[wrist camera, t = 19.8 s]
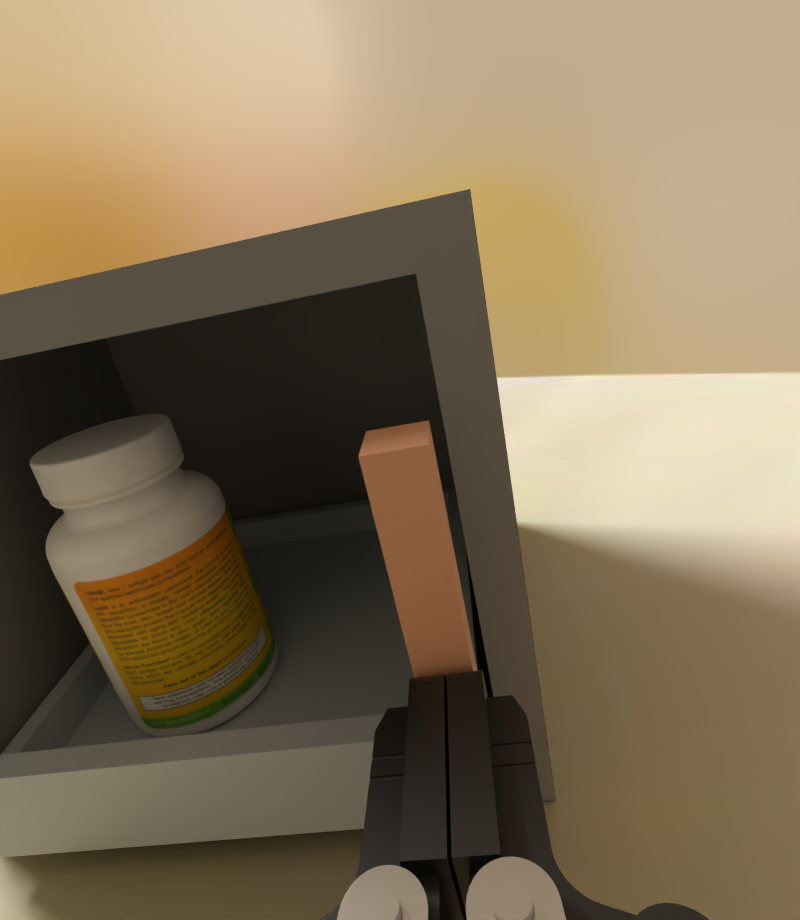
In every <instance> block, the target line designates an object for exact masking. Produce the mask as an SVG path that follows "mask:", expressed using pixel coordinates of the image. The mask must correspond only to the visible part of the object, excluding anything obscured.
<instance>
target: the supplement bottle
mask: <svg viewBox="0 0 800 920" xmlns="http://www.w3.org/2000/svg"><path fill="white" fill-rule="evenodd" d="M183 460H184V454H183V452H182V448H181V445H180V442H179V440H178V437H177V435H176V433H175V430H174V428H173V425H172V423H171V421H170V419H169V417H167V416H166V415H163V414H146V415H139V416H132V417H127V418H123V419H118V420H114V421H110V422H107V423H103V424H100V425H97V426H94V427H91V428H88V429H85V430H82V431H79V432H77V433H74V434H71V435H69V436H67V437H65V438H62V439H60V440H58V441H56V442H54V443H52V444H50V445H48V446H46V447H45V448H43V449H41V450H40V451H38V452H37V453H35V454H34V455H33V456H32V457H31V459H30V467H31V469H32V471H33V473H34V475H35V478H36V480H37V482H38V484H39V486H40V488H41V491H42V494H43V496H44V497H45V498H46V499H48V500H49V503H50V504H51V505H52V506H53V507H55V508H58V509H63V511H64V514H63V515H62V516H61V517H60V518H59V519H58V520H57V521H56V522H55V524H54V525H53V527H52V528H51V530H50V532H49V534H48V536H47V540H46V546H45V550H46V556H47V559H48V562H49V564H50V566H51V569H52V571H53V573H54V575H55V577H56V579H57V581H58V583H59V585H60V587H61V588H62V590H63V592H64V594H65V596H66V598H67V600H68V602H69V603H70V605H71V607H72V609H73V611H74V613H75V615H76V617H77V619H78V621H79V623H80V624H81V626H82V628H83V630H84V632H85V634H86V636H87V638H88V640H89V642H90V644H91V645H92V647H93V649H94V651H95V653H96V655H97V657H98V659H99V661H100V663H101V665H102V667H103V669H104V670H105V672H106V674H107V676H108V678H109V680H110V682H111V684H112V686H113V687H114V689H115V691H116V693H117V695H118V697H119V699H120V701H121V703H122V704H123V706H124V708H125V710H126V712H127V713H128V715H129V716H130V718H131V719H132V721H133V723H134V724H135V725H136V726H137V727H138V728H139V729H140V730H142V731H143V732H145V733H147V734H150V735H153V736H157V737H172V736H182V735H191V734H197V733H200V732H203V731H206V730H209V729H211V728H213V727H216V726H218V725H220V724H222V723H224V722H226V721H227V720H229V719H231V718H232V717H234V716H235V715H237V714H238V713H239V712H241V711H242V710H243V709H244V708H245V707H247V706H248V705H249V704H250V703H251V702H252V701H253V700H254V699H255V698H256V697H257V696H258V695H259V694H260V693H261V691H262V690H263V689H264V688H265V686H266V685H267V683H268V682H269V680H270V678H271V676H272V674H273V672H274V670H275V667H276V664H277V659H278V646H277V642H276V639H275V636H274V632H273V629H272V627H271V624H270V621H269V619H268V617H267V614H266V611H265V608H264V606H263V603H262V600H261V598H260V595H259V592H258V590H257V587H256V584H255V582H254V579H253V577H252V574H251V571H250V568H249V566H248V563H247V560H246V558H245V555H244V552H243V550H242V547H241V544H240V541H239V538H238V536H237V533H236V530H235V527H234V524H233V522H232V519H231V516H230V513H229V510H228V508H227V505H226V502H225V500H224V497H223V495H222V493H221V490H220V488H219V487H218V485H217V484H216V483H215V482H214V481H213V480H212V479H211V478H210V477H208V476H206V475H204V474H202V473H200V472H197V471H192V470H182V469H181V467H180V465H181V463H182V462H183Z"/></svg>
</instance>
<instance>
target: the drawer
mask: <svg viewBox="0 0 800 920" xmlns="http://www.w3.org/2000/svg"><path fill="white" fill-rule="evenodd" d="M358 457H359V461H360V465H361V469H362V473H363V477H364V481H365V485H366V489H367V493H368V497H369V499H365V500H359V501H353V502H346V503H340V504H334V505H327V506H321V507H314V508H308V509H302V510H295V511H289V512H283V513H276V514H270V515H264V516H257V517H251V518H245V519H238V520H232V522H233V524H234V527H235V530H236V533H237V536H238V538H239V541H240V544H241V547H242V550H243V552H244V555H245V558H246V560H247V563H248V566H249V568H250V571H251V574H252V577H253V579H254V582H255V584H256V587H257V590H258V592H259V595H260V598H261V600H262V603H263V606H264V608H265V611H266V614H267V617H268V619H269V621H270V624H271V627H272V629H273V632H274V636H275V639H276V642H277V646H278V659H277V664H276V667H275V670H274V672H273V674H272V676H271V678H270V680H269V682H268V683H267V685H266V686H265V688H264V689H263V690H262V691H261V693H260V694H259V695H258V696H257V697H256V698H255V699H254V700H253V701H252V702H251V703H250V704H249V705H248V706H247V707H245V708H244V709H243V710H242V711H241V712H239V713H238V714H237V715H235V716H234V717H232V718H231V719H229V720H227V721H226V722H224V723H222V724H220V725H218V726H216V727H213V728H211V729H209V730H206V731H203V732H200V733H197V734H191V735H182V736H172V737H157V736H153V735H150V734H147V733H145V732H143V731H142V730H140V729H139V728H138V727H137V726H136V725H135V724H134V723H133V721H132V719H131V718H130V716H129V715H128V713H127V712H126V710H125V708H124V706H123V704H122V703H121V701H120V699H119V697H118V695H117V693H116V691H115V689H114V687H113V686H112V684H111V682H110V680H109V678H108V676H107V674H106V672H105V670H104V669H103V667H102V665H101V663H100V661H99V659H98V657H97V655H96V653H95V651H94V649H93V647H92V645H91V644H90V643H89V645H88V646H87V647H86V648H85V650H84V651H83V652H82V653H81V655H80V656H79V657H78V658H77V660H76V661H75V662H74V663H73V665H72V666H71V667H70V668H69V670H68V671H67V672H66V673H65V675H64V676H63V677H62V678H61V680H60V681H59V682H58V683H57V685H56V686H55V687H54V688H53V690H52V691H51V692H50V693H49V695H48V696H47V697H46V699H45V700H44V701H43V702H42V704H41V705H40V706H39V707H38V709H37V710H36V711H35V712H34V714H33V715H32V716H31V717H30V719H29V720H28V721H27V722H26V724H25V725H24V726H23V727H22V729H21V730H20V731H19V732H18V734H17V735H16V736H15V737H14V739H13V740H12V741H11V742H10V744H9V745H8V746H7V747H6V749H5V750H4V751H3V752H2V754H1V755H0V858H1V857H14V856H26V855H39V854H51V853H64V852H77V851H89V850H102V849H114V848H127V847H140V846H152V845H165V844H177V843H190V842H203V841H215V840H228V839H240V838H253V837H265V836H278V835H291V834H303V833H316V832H328V831H341V830H354V829H364V822H365V813H366V805H367V796H368V788H369V782H370V770H371V762H372V760H373V759H372V753H373V744H374V736H375V730H376V728H377V727H378V725H379V723H380V721H381V719H382V717H383V716H384V714H385V712H386V710H387V708H396V707H406V706H408V693H409V681H410V679H411V678H418V677H427V676H436V675H446V678H447V674H452V673H461V672H470V671H479V670H482V664H481V654H480V645H479V635H478V626H477V617H476V607H475V598H474V588H473V582H472V577H471V572H470V566H469V561H468V555H467V550H466V544H465V539H464V533H463V528H462V523H461V517H460V512H459V506H458V501H457V495H456V490H455V485H454V486H448V487H442V485H441V480H440V475H439V470H438V465H437V460H436V454H435V449H434V444H433V439H432V434H431V429H430V423H429V420H428V421H423V422H417V423H411V424H405V425H399V426H394V427H388V428H382V429H376V430H371V431H366V433H365V437H364V440H363V443H362V446H361V450H360V453H359V456H358Z"/></svg>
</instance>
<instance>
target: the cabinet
mask: <svg viewBox="0 0 800 920" xmlns="http://www.w3.org/2000/svg"><path fill="white" fill-rule="evenodd" d="M146 414H163V415H166V416H167V417H169V419H170V421H171V423H172V425H173V428H174V430H175V433H176V435H177V437H178V440H179V442H180V445H181V448H182V452H183V454H184V460H183V462H182V463H181V465H180V467H181V469H182V470H192V471H197V472H200V473H202V474H204V475H206V476H208V477H210V478H211V479H212V480H213V481H214V482H215V483H216V484H217V485H218V487H219V488H220V490H221V493H222V495H223V497H224V500H225V502H226V505H227V508H228V510H229V513H230V516H231V519H232V520H238V519H245V518H251V517H257V516H264V515H270V514H276V513H283V512H289V511H295V510H302V509H308V508H314V507H321V506H327V505H334V504H340V503H346V502H353V501H359V500H365V499H369V497H368V493H367V489H366V485H365V481H364V477H363V473H362V469H361V465H360V461H359V457H358V456H359V453H360V450H361V446H362V443H363V440H364V437H365V433H366V431H371V430H376V429H382V428H388V427H394V426H399V425H405V424H411V423H417V422H423V421H428V420H429V423H430V429H431V434H432V439H433V444H434V449H435V454H436V460H437V465H438V470H439V475H440V480H441V485H442V487H448V486H454V485H455V490H456V495H457V501H458V506H459V512H460V517H461V523H462V528H463V533H464V539H465V544H466V550H467V555H468V561H469V566H470V572H471V577H472V582H473V588H474V598H475V607H476V617H477V626H478V635H479V645H480V654H481V664H482V671H483V675H484V680H485V685H486V690H487V696H488V698H489V697H498V696H508V695H513V697H514V698H515V700H516V701H517V702H518V704H519V705H520V707H521V708H522V709H523V711H524V712H525V714H526V715H527V719H528V724H529V730H530V735H531V741H532V746H533V752H534V757H535V763H536V768H537V774H538V779H539V784H540V790H541V795H542V801H550V800H555V793H554V786H553V779H552V772H551V765H550V757H549V750H548V743H547V736H546V729H545V722H544V714H543V707H542V700H541V693H540V686H539V679H538V672H537V664H536V657H535V650H534V643H533V636H532V629H531V621H530V614H529V607H528V600H527V593H526V586H525V579H524V571H523V564H522V557H521V550H520V543H519V536H518V528H517V521H516V514H515V507H514V500H513V493H512V486H511V478H510V471H509V464H508V457H507V450H506V443H505V435H504V428H503V421H502V414H501V407H500V400H499V393H498V385H497V378H496V372H495V365H494V357H493V350H492V343H491V335H490V329H489V321H488V314H487V307H486V300H485V293H484V285H483V278H482V271H481V264H480V257H479V250H478V243H477V236H476V228H475V221H474V214H473V207H472V199H471V192H470V189H469V190H464V191H460V192H455V193H451V194H446V195H442V196H438V197H434V198H429V199H425V200H420V201H415V202H411V203H406V204H402V205H398V206H393V207H389V208H384V209H380V210H375V211H371V212H366V213H362V214H358V215H353V216H349V217H344V218H340V219H336V220H331V221H327V222H322V223H318V224H313V225H309V226H304V227H300V228H295V229H291V230H286V231H282V232H278V233H273V234H269V235H265V236H260V237H256V238H251V239H246V240H242V241H238V242H233V243H229V244H224V245H220V246H215V247H211V248H207V249H202V250H198V251H193V252H189V253H184V254H180V255H176V256H171V257H167V258H162V259H158V260H153V261H149V262H144V263H140V264H135V265H131V266H127V267H122V268H118V269H113V270H109V271H104V272H100V273H95V274H91V275H87V276H82V277H78V278H73V279H69V280H64V281H60V282H55V283H51V284H47V285H42V286H38V287H33V288H29V289H24V290H20V291H16V292H11V293H7V294H2V295H0V755H1V754H2V752H3V751H4V750H5V749H6V747H7V746H8V745H9V744H10V742H11V741H12V740H13V739H14V737H15V736H16V735H17V734H18V732H19V731H20V730H21V729H22V727H23V726H24V725H25V724H26V722H27V721H28V720H29V719H30V717H31V716H32V715H33V714H34V712H35V711H36V710H37V709H38V707H39V706H40V705H41V704H42V702H43V701H44V700H45V699H46V697H47V696H48V695H49V693H50V692H51V691H52V690H53V688H54V687H55V686H56V685H57V683H58V682H59V681H60V680H61V678H62V677H63V676H64V675H65V673H66V672H67V671H68V670H69V668H70V667H71V666H72V665H73V663H74V662H75V661H76V660H77V658H78V657H79V656H80V655H81V653H82V652H83V651H84V650H85V648H86V647H87V646H88V645H89V643H90V642H89V640H88V638H87V636H86V634H85V632H84V630H83V628H82V626H81V624H80V623H79V621H78V619H77V617H76V615H75V613H74V611H73V609H72V607H71V605H70V603H69V602H68V600H67V598H66V596H65V594H64V592H63V590H62V588H61V587H60V585H59V583H58V581H57V579H56V577H55V575H54V573H53V571H52V569H51V566H50V564H49V562H48V559H47V556H46V550H45V546H46V540H47V536H48V534H49V532H50V530H51V528H52V527H53V525H54V524H55V522H56V521H57V520H58V519H59V518H60V517H61V516H62V515H63V514H64V511H63V509H58V508H55V507H53V506H52V505H51V504H50V503H49V500H48V499H46V498H45V497H44V496H43V494H42V491H41V488H40V486H39V484H38V482H37V480H36V478H35V475H34V473H33V471H32V469H31V467H30V459H31V457H32V456H33V455H34V454H35V453H37V452H38V451H40V450H41V449H43V448H45V447H46V446H48V445H50V444H52V443H54V442H56V441H58V440H60V439H62V438H65V437H67V436H69V435H71V434H74V433H77V432H79V431H82V430H85V429H88V428H91V427H94V426H97V425H100V424H103V423H107V422H110V421H114V420H118V419H123V418H127V417H132V416H139V415H146Z"/></svg>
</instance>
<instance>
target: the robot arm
mask: <svg viewBox="0 0 800 920" xmlns="http://www.w3.org/2000/svg"><path fill="white" fill-rule="evenodd" d="M372 759H373V760H372V762H371V770H370V782H369V788H368V796H367V805H366V813H365V822H364V831H363V839H362V848H361V857H360V864H359V869H358V873H357V876H356V879H355V881H354V882H353V883H352V885H351V886H350V887H349V889H348V890H347V892H346V894H345V895H344V898H343V900H342V902H341V903H340V904H339V905H338V906H337V907H336V908H335V909H334V910H333V911H332V912H331V913H329V914H328V915H327V916H325V917H323V918H322V919H320V920H709V919H708V918H706V917H705V916H704V915H702V914H700V913H698V912H697V911H695V910H693V909H690V908H688V907H686V906H682V905H678V904H672V903H661V904H655V905H652V906H649V907H647V908H646V909H644V910H642V911H641V912H640V913H639V914H638V915H634V914H631V913H627V912H624V911H621V910H618V909H615V908H611V907H608V906H605V905H602V904H600V903H597V902H595V901H592V900H591V899H589V898H587V897H585V896H584V895H582V894H581V893H580V892H578V891H577V890H576V889H575V888H574V887H573V886H572V885H571V884H570V883H569V882H568V881H567V880H566V879H565V877H564V876H563V875H562V873H561V871H560V870H559V868H558V866H557V864H556V862H555V859H554V857H553V853H552V849H551V845H550V839H549V834H548V828H547V823H546V817H545V812H544V806H543V801H542V795H541V790H540V784H539V779H538V774H537V768H536V763H535V757H534V752H533V746H532V741H531V735H530V730H529V724H528V719H527V715H526V714H525V712H524V711H523V709H522V708H521V707H520V705H519V704H518V702H517V701H516V700H515V698H514V697H513V695H508V696H498V697H489V698H488V696H487V690H486V685H485V680H484V675H483V671H482V670H479V671H470V672H461V673H452V674H447V678H446V675H436V676H427V677H418V678H411V679H410V681H409V693H408V706H406V707H396V708H387V710H386V712H385V714H384V716H383V717H382V719H381V721H380V723H379V725H378V727H377V728H376V730H375V736H374V744H373V753H372Z"/></svg>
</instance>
